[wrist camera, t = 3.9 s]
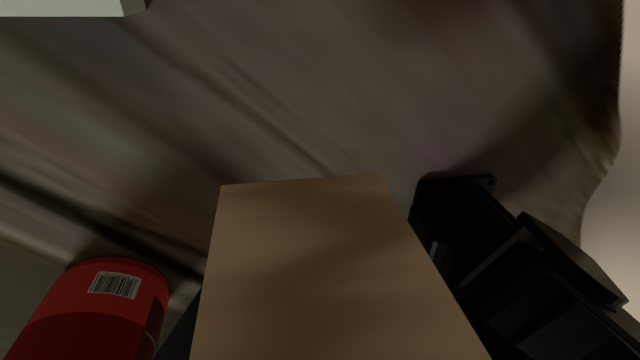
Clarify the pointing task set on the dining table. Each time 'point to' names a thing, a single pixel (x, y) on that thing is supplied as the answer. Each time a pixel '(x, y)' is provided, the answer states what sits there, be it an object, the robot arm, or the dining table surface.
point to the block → (323, 278)
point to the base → (71, 7)
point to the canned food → (97, 314)
